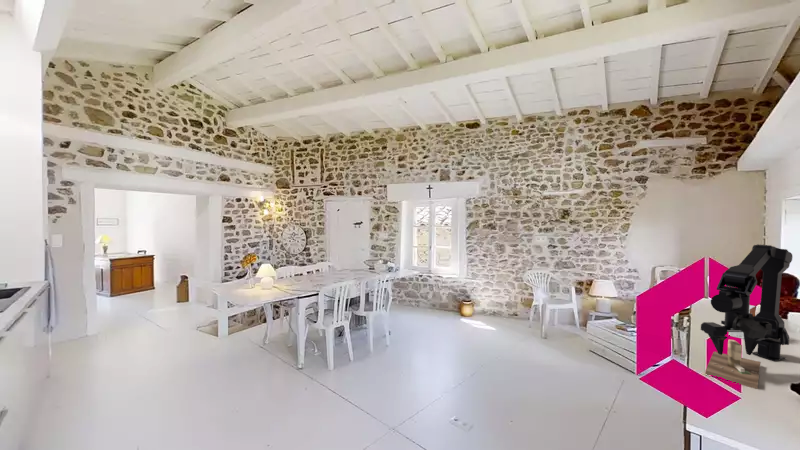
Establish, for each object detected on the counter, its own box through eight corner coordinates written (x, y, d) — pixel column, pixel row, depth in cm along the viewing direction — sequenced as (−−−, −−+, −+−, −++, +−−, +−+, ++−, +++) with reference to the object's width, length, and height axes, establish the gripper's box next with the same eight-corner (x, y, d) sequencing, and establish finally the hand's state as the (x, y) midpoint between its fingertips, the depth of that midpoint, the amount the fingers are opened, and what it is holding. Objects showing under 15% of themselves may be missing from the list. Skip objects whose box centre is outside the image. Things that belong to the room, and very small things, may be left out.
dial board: (713, 355, 131) (714, 350, 131) (760, 366, 122) (760, 361, 122) (705, 375, 116) (705, 369, 116) (757, 389, 107) (757, 383, 107)
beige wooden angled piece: (724, 362, 122) (725, 339, 121) (735, 363, 120) (736, 340, 120) (736, 372, 114) (737, 348, 114) (748, 374, 113) (749, 349, 113)
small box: (748, 340, 145) (750, 309, 144) (728, 335, 150) (729, 305, 150) (754, 336, 150) (756, 305, 149) (734, 331, 155) (735, 302, 154)
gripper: (729, 315, 110) (726, 365, 111) (792, 316, 109) (789, 365, 110) (700, 305, 121) (698, 350, 122) (757, 305, 120) (754, 351, 121)
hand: (734, 354), depth 118 cm, fingers open, 9 cm apart
